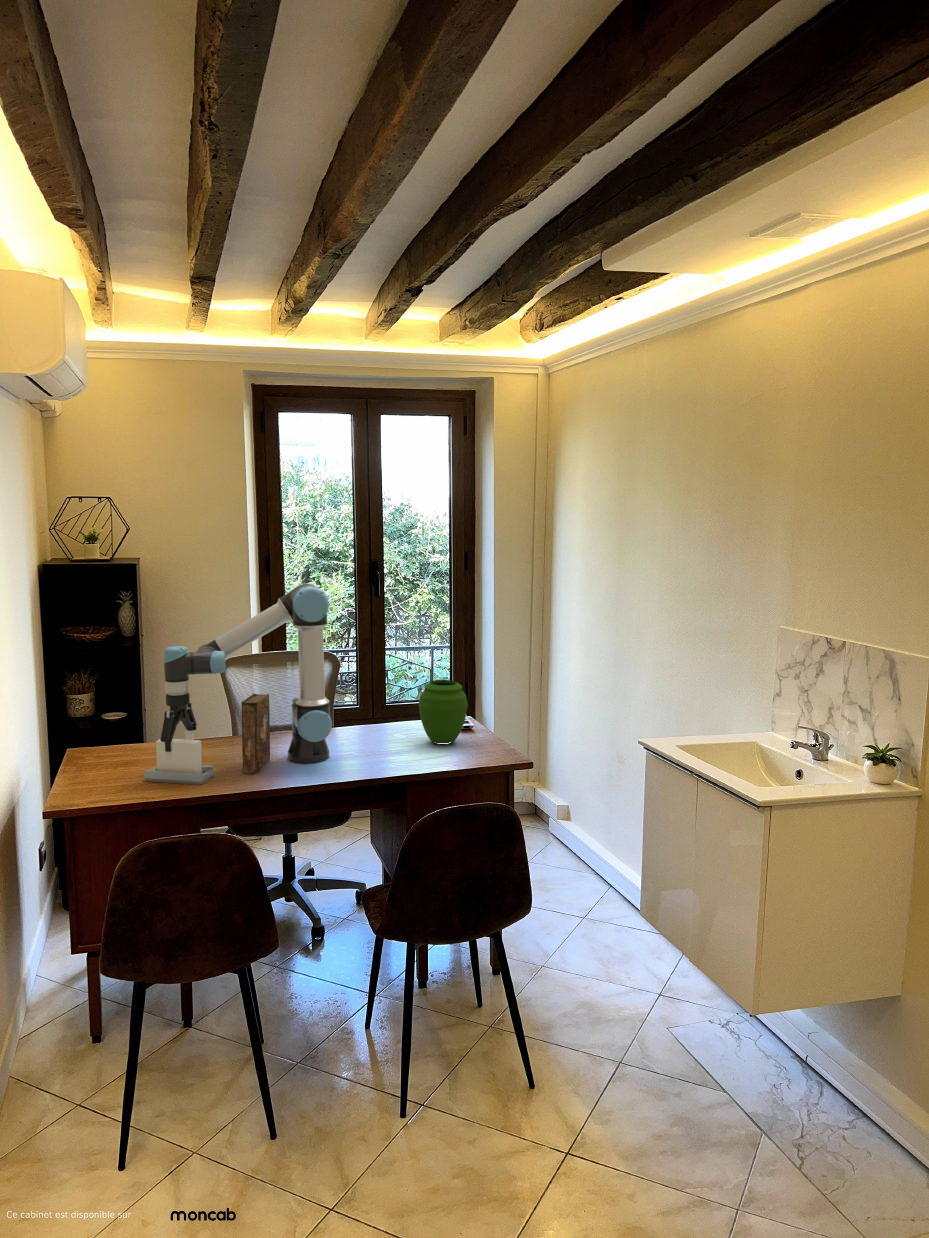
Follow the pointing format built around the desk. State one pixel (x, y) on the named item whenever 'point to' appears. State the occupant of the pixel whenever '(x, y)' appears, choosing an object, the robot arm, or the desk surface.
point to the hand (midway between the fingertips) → (180, 754)
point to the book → (255, 733)
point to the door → (181, 756)
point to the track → (180, 776)
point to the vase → (443, 710)
